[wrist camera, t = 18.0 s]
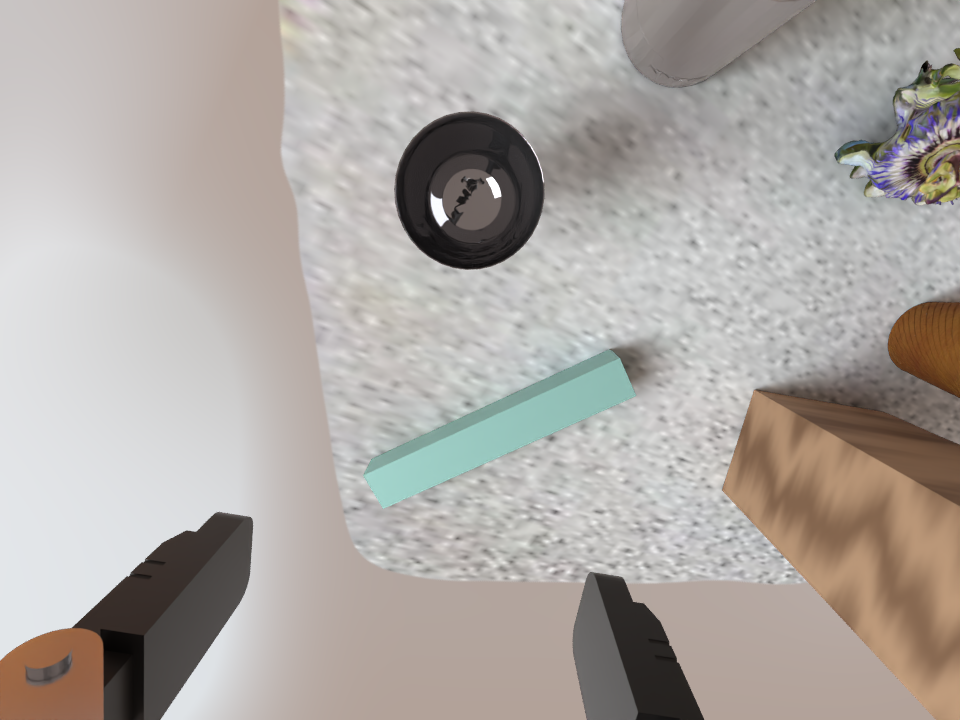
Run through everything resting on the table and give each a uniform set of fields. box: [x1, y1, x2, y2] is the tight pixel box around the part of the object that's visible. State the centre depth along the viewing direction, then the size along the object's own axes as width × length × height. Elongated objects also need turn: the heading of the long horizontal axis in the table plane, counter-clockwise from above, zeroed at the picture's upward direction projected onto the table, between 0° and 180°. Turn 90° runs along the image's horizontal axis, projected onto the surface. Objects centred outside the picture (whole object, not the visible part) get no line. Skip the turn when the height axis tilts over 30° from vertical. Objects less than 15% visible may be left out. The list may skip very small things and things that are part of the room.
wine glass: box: [394, 112, 544, 270], centre depth 33 cm, size 8×8×15 cm
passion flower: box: [835, 48, 960, 206], centre depth 35 cm, size 11×11×12 cm
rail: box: [363, 349, 636, 509], centre depth 43 cm, size 4×24×4 cm, turn 116°
